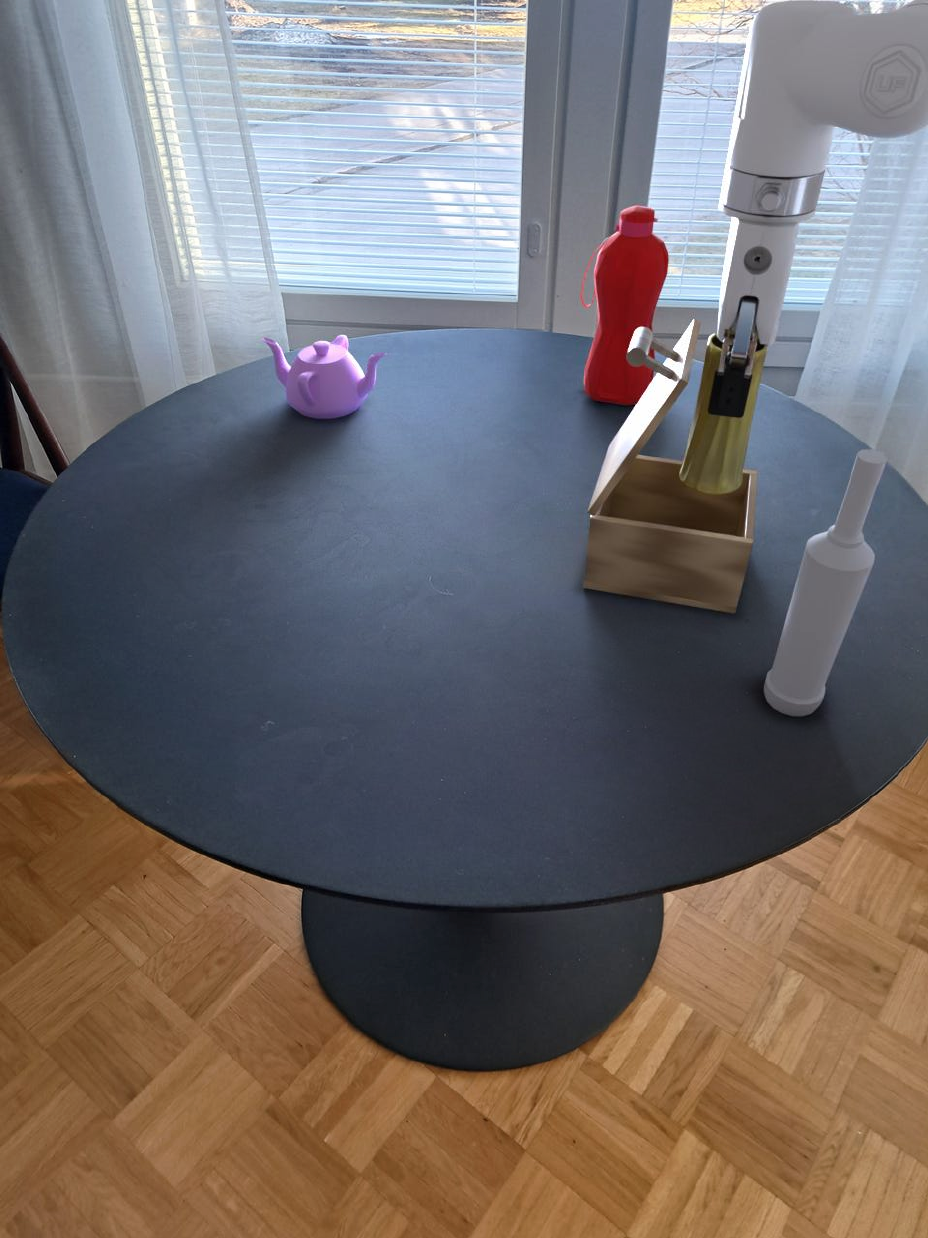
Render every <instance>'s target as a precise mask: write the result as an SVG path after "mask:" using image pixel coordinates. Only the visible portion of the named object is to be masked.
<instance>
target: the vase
mask: <svg viewBox="0 0 928 1238" xmlns="http://www.w3.org/2000/svg"><path fill="white" fill-rule="evenodd" d="M735 333H736V332H735V331H730V335H729V338H735ZM753 335H754V334H752V333H751V336H750V340H753ZM723 340H724V339H723ZM722 348H723V342H721V341H720V340H719V339H718V337H717V332H715V333H713V334H711V335H709V337H708V340H707V344H706V348H705V354H704V362H703V367H702V372H701V377H700V382H699V383H700V384H699V387H698V392H697V397H696V402H695V407H694V412H693V416H692V419H691V425H690V430H689V433H688V439H687V443H686V447H685V451H684V452H685V453H684V458H683V460H682V461H683V465H682V467H681V470H680V474H679V476H680V479H681V481H682V482H683V483H684V484H685V485H686V486H687V487H689V488H690V489H692V490H695V491H697V492H700V493H704V494H710V495H722V494H728V493H731V492H733V491H735V490H737V489H738V488H739V487H740V486H741V484H742V476H743V469H744V467H745V462H746V456H747V451H748V447H749V439H750V435H751V430H752V424H753V420H754V415H755V410H756V404H757V399H758V394H759V389H760V386H761V385H760V383H761V379H762V376H763V370H764V367H765V366H764V365H765V362H766V357H767V352H768V348H769V347H766V344H760V341H759V336H758V340H757V346H756V350H755V355H754V359H753V364H752V369H751V374H752V380H751V385H750V389H749V394H748V398H747V403H746V407H745V412H744V416H743V417H741V418H735V417H727V416H719V415H711V414H709V413H708V406H709V400H710V395H711V390H712V385H713V380H714V374H715V370H717V371H718V369H719V364H720V359H721V353H722ZM732 348H733V346H729V350H728V354H729V353H732ZM748 351H749V348H748ZM747 355H748V352H747ZM725 366H726V365H725Z"/></svg>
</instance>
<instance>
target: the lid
mask: <svg viewBox="0 0 928 1238" xmlns="http://www.w3.org/2000/svg"><path fill="white" fill-rule="evenodd" d="M701 324H702V323H701V321H699V320H697V319H696V318H693V320H692V321H691V323H690V324H689V326H688V327H687V329H686V330H685V332H684V333H683V335H682V336H681V338H680V339H679V340H678V342H677V343H676V345H675V346H674V348H673V349H672V348H671V347H669V346H668V345H665V344H664V343H663V342H661V341H659V340H657V339H655V338H654V332H653V333H652V331H651V330H650V329H649V328H647V327H640V328H638V329H637V330H636V331H635V333H634V336H633V338H632V341H631V344H630V347H629V350H628V353H627V361H628V363H629V364H630V365H632V366H635V367H638V366H641V365H645V366H646V367H648V368H650V369H652V370H653V371H654V373H656V375H655V376H654V377H653V381H652V382H651V384H650V385H649V387H648V388H647V390H646V391H645V393H644V394H643V396H642V397H641V399H640V400H639V402H638V403H637V404H635V406H634V407H633V409H632V411H631V412H630V414H629V415H628V417H627V418H626V419H625V421H624V423H623V424H622V426H621V427H620V429H619V430H618V431H617V433H616V435H615V436H614V437H613V439H612V441H611V442H610V444H609V446H608V447H607V451H606V454H605V457H604V460H603V463H602V466H601V470H600V473H599V476H598V478H597V482H596V484H595V487H594V491H593V493H592V497H591V499H590V503H589V506H588V508H587V513H588V514H589V515H590V516H591V515H593V516H595V514H596V513H597V512H598V510H599V509H600V507H601V506H602V504H603V503H604V502H605V500H606V499H607V497H608V496H609V495H610V493H611V492H612V490H613V489H614V487H615V486H616V485H617V483H618V482H619V480H620V479H621V478H622V476H623V475H624V473H625V472H626V470H627V469H628V468H629V466H630V465H631V463H632V462H633V461H634V459H635V458H636V456H637V455H639V454H640V452H641V451H642V450H643V448H644V447H645V445H646V444H647V442H648V441H649V440H650V439H651V437H652V435H653V434H654V432H655V431H656V430H657V428H658V427H659V425H660V424H661V423H662V422H663V420H664V418H665V417H666V416H667V414H668V413H669V411H670V410H671V408H672V407H673V406H674V404H675V402H676V401H677V400H678V398H679V397H680V396H681V394H682V393H683V391H684V390H685V389H686V387H687V386H688V384H689V381H690V376H691V371H692V367H693V363H694V357H695V352H696V348H697V342H698V339H699V333H700V328H701ZM650 348H651V349H653V350H654V352H656V353H658V354H660V355H662V356H663V357H665V358H666V359H665V361H664V363H663V362H660V361H658V360H656V358H655V359H653V358H651V357H650V356H648V352H649V349H650Z"/></svg>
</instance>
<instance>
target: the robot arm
mask: <svg viewBox="0 0 928 1238" xmlns="http://www.w3.org/2000/svg"><path fill="white" fill-rule="evenodd" d="M746 41H747V42H746V48H745V53H744V59H743V65H742V71H741V76H740V82H739V87H738V94H737V100H736V105H735V110H734V115H733V116H734V117H733V123H732V128H731V134H730V140H729V147H728V152H727V158H726V162H725V163H726V164H725V169H724V176H723V179H722V181H723V182H722V186H721V193H720V198H719V203H718V210H719V211H721V213H722V214H724V215H726V216H728V217H731V222H730V227H729V228H730V229H729V234H728V239H727V246H726V251H725V258H724V263H723V271H722V278H721V285H720V294H719V302H718V303H719V304H718V307H719V308H718V317H717V332H716V333H717V337H718V339H719V340H720V341H721V342H723V348H722V353H721V359H720V364H719V369H718V371H717V370H715V374H714V380H713V385H712V390H711V395H710V400H709V406H708V413H709V414H711V415H719V416H727V417H735V418H741V417H743V416H744V412H745V407H746V403H747V398H748V394H749V389H750V385H751V380H752V374H751V369H752V364H753V359H754V355H755V350H756V346H757V340H758V336H759V341H760V344H766V347H768V348H770V347H772V346H773V345H774V344H775V343H776V339H777V333H778V328H779V325H780V319H781V315H782V310H783V305H784V301H785V296H786V292H787V288H788V283H789V279H790V275H791V269H792V266H793V260H794V255H795V250H796V244H797V238H798V233H799V227H800V223H803V222H807V221H808V220H810V219H813V218H814V216H815V214H816V209H817V206H818V203H819V198H820V194H821V189H822V185H823V181H824V178H825V173H826V167H827V163H828V159H829V155H830V152H831V147H832V143H833V138H834V134H835V130H836V128H839V129H842V130H845V131H848V132H851V133H856V134H858V135H863V136H867V137H872V138H877V139H897V138H898V139H899V138H903V137H907V136H910V135H912V134H914V133H917V132H919V131H921V130H922V129H923V128H925V127H927V126H928V0H911V1H910V2H908V3H905V4H903V5H901V6H900V7H898V8H897V9H894V10H892V11H888V12H881V13H880V12H879V13H865V14H857V12H856V11H855V10H854V8H852V7H850V6H848V5H847V4H844V3H838V2H832V1H826V0H825V1H824V0H782V1H775V2H772V3H769V4H767V5H765V6H763V7H762V8H761V9H760V10H758V12H757V13H756V14H755V16H754V17H753V20H752V22H751V23H750V28H749V33H748V36H747V40H746ZM730 331H735V332H736V333H735V338H729V335H730ZM751 333H752V334H754V335H753V340H750V336H751ZM723 339H724V340H723ZM729 346H733V348H732V353H729V354H728V350H729ZM748 348H749V351H748ZM747 352H748V355H747ZM725 365H726V366H725Z"/></svg>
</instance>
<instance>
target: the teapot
mask: <svg viewBox="0 0 928 1238" xmlns="http://www.w3.org/2000/svg"><path fill="white" fill-rule="evenodd" d="M262 340H263V341H264V342H265V343H266V345H267V346H268V347H269V348H270V350H271V353H272V356H273V362H274V370H275V374H276V377H277V379H278V381H279V382H280V384H281V385H282V386H283V387H284V388H285V398H286V401H287V403H288V404H289V405H290V406H291V407H292V408H293V409H294V410H295V411H297V412H298V413H299V414H301V415H302V416H304V417H307V418H312V419H319V420H329V419H330V420H331V419H337V418H342V417H345V416H348V415H350V414H352V413H354V412H355V411H357V410H358V409H359V408H360V407H361V405H362V404H363V403H364V401H365V400H366V399H367V396H368V395H369V394H370V393H371V392H373V389H374V387H375V385H376V380H377V365H378V362H379V361H380V359H381V358H382V357H384V356H386V354H387V353H386V352H377V353H374V354H372V355H370V356H369V358H368V360H367V364H366V372H365V374H364V371H363V370H362V368H361V367H360V365H359V363H358V362H357V360H356V359H355V358H354V357H353V355H352V354H351V353H350V352H349V340H348V337H347V335H345V334H340V335H338V336H337V337H336V338H335V339H334V340H333V341H332V343H330V342H329V341H326V340H319V341H315V342H314V343H313V344H312V345H309V346H307V347H304V348H302V349H301V350H299V352H298V353H297V354H296V356H295V358H294V359H293V362H292V364H291V366H290V365H289V364H288V362H287V360H286V358H285V355H284V352H283V349H282V347H281V346H280V345H279V343H278V342H276V341H275V340H273V339H272V338H269V337H262Z"/></svg>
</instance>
